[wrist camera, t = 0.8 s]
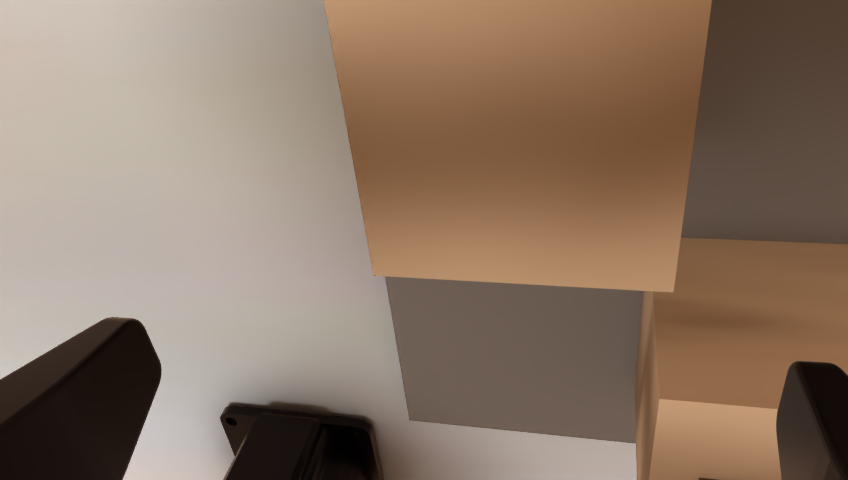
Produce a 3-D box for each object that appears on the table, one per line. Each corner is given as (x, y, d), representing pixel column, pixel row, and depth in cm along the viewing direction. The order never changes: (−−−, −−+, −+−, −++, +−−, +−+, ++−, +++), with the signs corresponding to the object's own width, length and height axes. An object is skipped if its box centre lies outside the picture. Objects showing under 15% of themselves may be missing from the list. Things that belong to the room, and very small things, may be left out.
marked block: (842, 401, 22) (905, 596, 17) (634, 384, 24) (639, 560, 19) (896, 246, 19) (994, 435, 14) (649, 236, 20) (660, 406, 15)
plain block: (658, 141, 18) (673, 292, 14) (430, 139, 20) (373, 275, 15) (684, -114, 15) (715, -29, 10) (405, -96, 16) (321, -13, 12)
